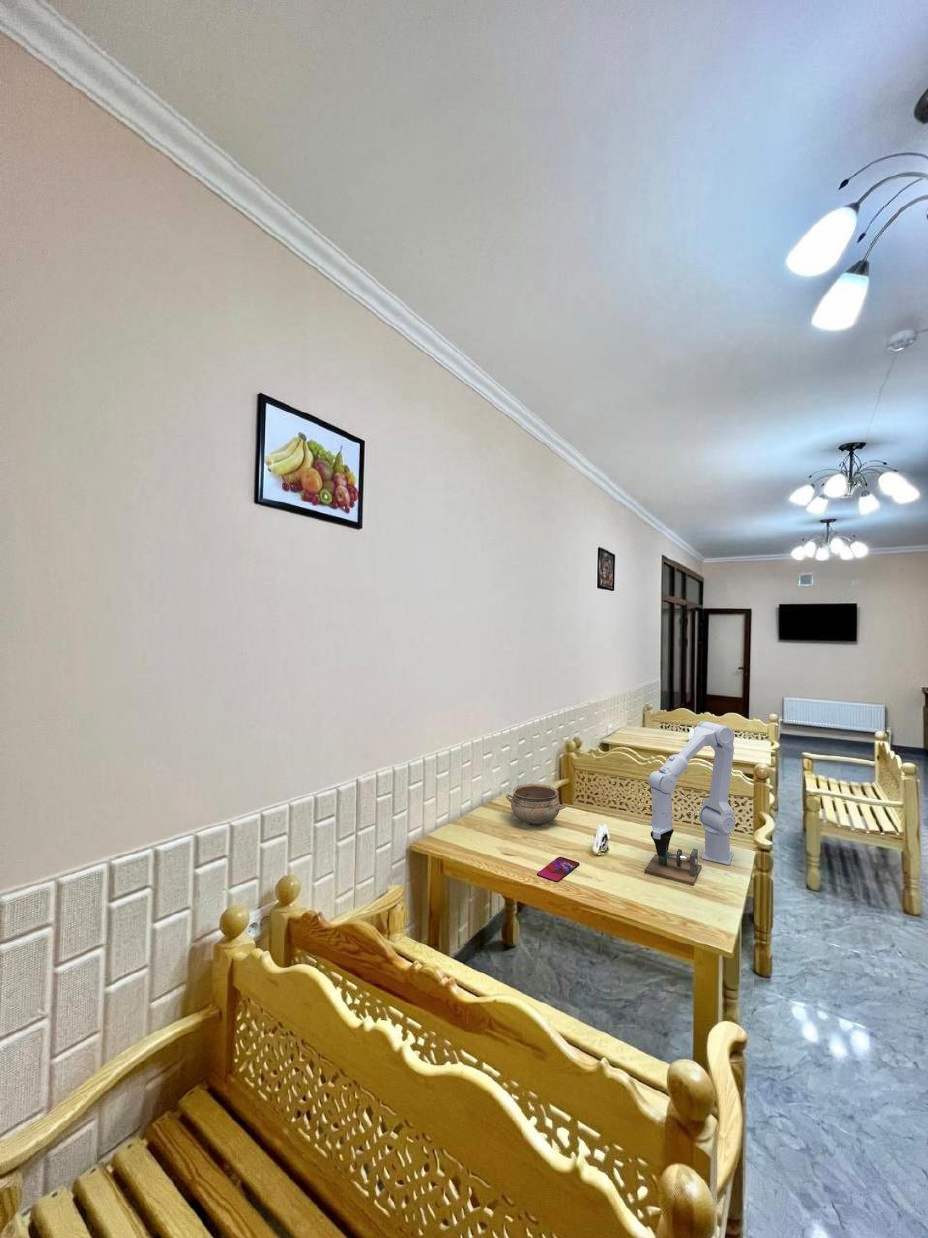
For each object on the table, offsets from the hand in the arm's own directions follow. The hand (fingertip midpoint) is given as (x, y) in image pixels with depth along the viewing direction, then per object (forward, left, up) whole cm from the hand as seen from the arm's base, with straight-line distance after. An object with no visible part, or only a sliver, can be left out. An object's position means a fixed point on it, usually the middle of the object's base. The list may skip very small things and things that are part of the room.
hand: (662, 854), depth 159 cm
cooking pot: (-11, -50, -5) cm, 51 cm away
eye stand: (0, +3, -4) cm, 5 cm away
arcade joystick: (0, +4, -3) cm, 5 cm away
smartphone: (+19, -27, -5) cm, 33 cm away
